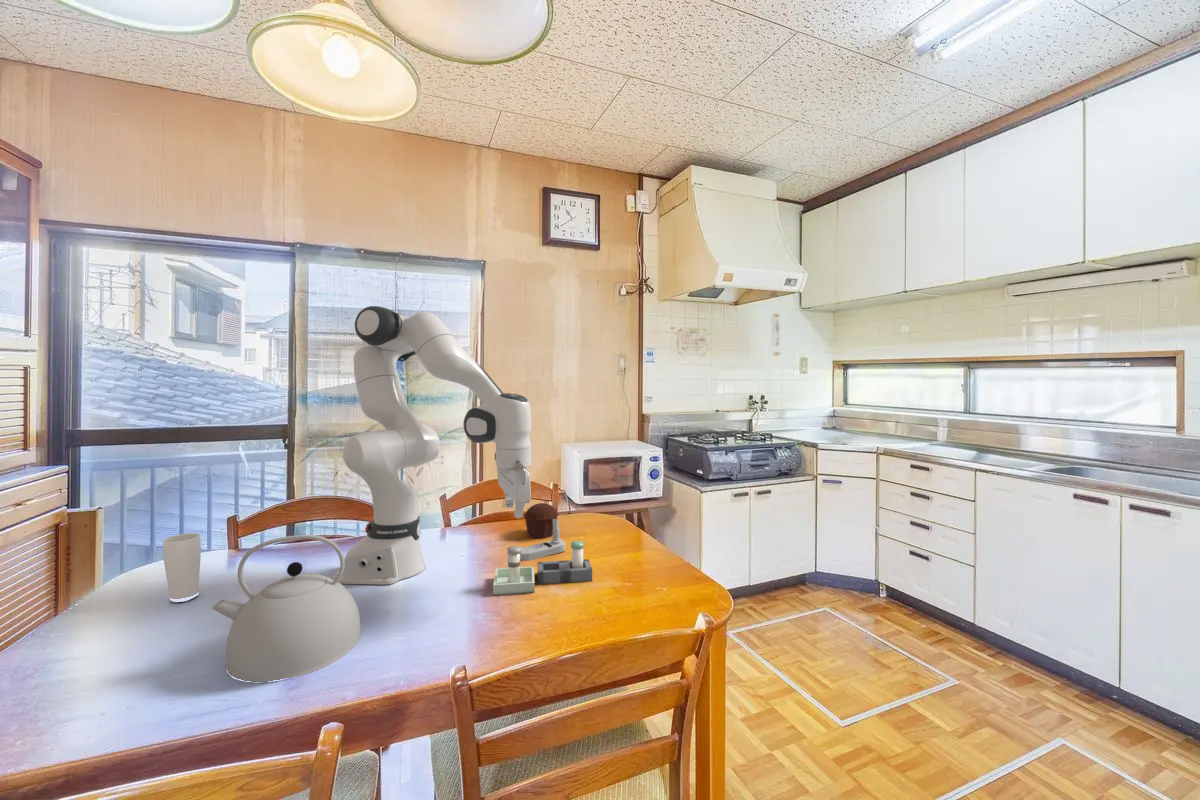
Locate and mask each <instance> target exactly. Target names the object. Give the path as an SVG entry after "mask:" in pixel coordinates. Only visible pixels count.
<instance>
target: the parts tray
mask: <svg viewBox="0 0 1200 800" xmlns="http://www.w3.org/2000/svg"><path fill="white" fill-rule="evenodd" d="M535 583H536V581H535V566H532V565H531V566H520V582H519V583H508V567H502V568H495V572H494V577H493V584H492V591H493V592H492V594H493V596H500V595H501V596H502V595H503V596H504V595H515V594H517V595H518V594H519V595H520V594H530V593H531V594H532V593H535V588H536V587H535Z"/></svg>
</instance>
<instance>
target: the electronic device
mask: <svg viewBox="0 0 1200 800" xmlns="http://www.w3.org/2000/svg"><path fill="white" fill-rule="evenodd" d="M559 521H560V520H559V518H557V519H553V535H552V539H551V540H547V541H544V542H540V543H535V544H532V545H527V546H524V547H521V553H520V561H531V560H532V561H533V560H536V559H540V558H545V557H548V556H552V555H555V554H560V553H563V552H565V551H566V542H565V540H563V539H561V538H560V527H559V526H560V523H559Z"/></svg>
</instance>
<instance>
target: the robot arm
mask: <svg viewBox="0 0 1200 800" xmlns="http://www.w3.org/2000/svg"><path fill="white" fill-rule="evenodd" d="M354 321H355V322H354V331H355V333H356V336H358V338H359V339H361V341H363V342H364V343H366V344H367V345H364V346H362V347H359V349H357V350H356V351H355V353H354V355H353V374H354V381H355V385H356V386H355V387H356V389H357V390H356V391H357V395H358V399H359V403H360V408H361V411H362V413H363V414H364V415H365V416H366V417H367V418H369V419H371V420H373V421H376V422H378V423H379V424H380V425H382V426H383V428H384V429H380V430H368V431H365V432H361V433H359V434H355V435H352V436H349V438H348V439H347V440H346V442H345V444H344V447H343V449H342V458H343V462H344V464H345V466H346V467H347V468H348V469H349V470H350V471H351V472H352V473H355V474H356V475H358V476H359V477H360V478H361V479H362V480H364V482H365V484H367V486H368V488H369V491H370V493H371V498H372V508H373V517H372V518H371V519H369V521H368V523H367V524H366V526H365V528H364V533H366V535H365V536H364V537H363V538H361V539H360V540H359V541H358V542H356V543H355V544H354V545H353V546H351V547H350V548H349V550H347V552H346V555H345V556H344V561H345V567H344V571H343V574H342V576H341V578H340V579H339V581H338V582H339V583H340V584H342V585H343V584H345V585H382V586H383V585H392V584H394V583H397V582H398V581H401V580H404V579H407V578H410V577H413V576H415V575H417V574H419V573H421V572H422V571H423V570H424V569H425V568H426V563H425V561H424V558H423V553H422V549H421V544H420V543H421V542H420V537H421V522H420V516H419V513H418V512H419V511H418V508H419V507H418V491H417V489H416V488H415V487H414V485H413V484H411V483H410V482H407V481H403V480H401V479H400V477H399V471H398V470H400V469H405V468H412V467H418V466H421V465H424V464H427V463H429V462H432V461H433V460H435V459H436V458H437V457H438V456H439V453H440V450H441V439H440V437H439V435H438V434H437V432H436V431H435V430H434V429H432V428H431V427H429V426H427V425H426V424H424V423H423V422H421V420H419V419H418V418H417V417H416V415H415V414H414V413H413V411H412V410H411V409H410V407H409V405H408V403H407V401H406V398H405V395H404V391H403V389H402V384H401V381H400V377H399V373H398V369H397V362H398V361H399V362H406V361H407V360H408V359H409V358H411V357H413V356H417V358H418V360H419V362H420V363H421V364H422V366H423V367H424V368H425V369H426V371H427V372H429V373H430V375H432V376H433V377H435V378H437V379H440V380H443V381H444V380H445V381H449V382H453V383H454V384H455V383H456V384H459V385H461V386H464V387H466V388H467V389H469V390H471V391H472V392H473V393H474V394H475V396H476V397H477V398H478V400H479V401H480V402H481V403H482V405H478V406H475V407H472V408H470V409H469V410H467V412H466V414H465V416H464V418H463V431H464V433H465V436H466V437H467V438H468V439H469V440H470V441H471V442H472V443H476V444H488V443H493V442H494V443H495V452H494V460H495V466H496V468H497V469H496V471H497V473H496V474H497V481H498V485H499V487H500V488H501V489H502V490H503V494H504V499H505V507H506V508H508V509H509V508H510V509H511V508H512V509H513V507H514V509H513V516H514V517H515V518H516V519H522V518H523V517H524V515H523V514H524V507H525V504H530V502H531V499H532V489H531V488H532V487H531V485H532V483H531V476H530V471H528V470H527V467H529V466H532V442H531V436H530V435H531V432H532V411H531V405H530V404H531V403H530V402H529V400H528V398H527V397H525V396H523V395H522V394H521V395H520V394H518V393H510V392H509V393H508V392H507V393H505V392H503V391H502V389H500V388H499V386H498V385H497V384H496V382H495V381H494V379H492V378H491V376H490V375H489V374H488V372H486V370H485V369H484V368H483V367H482V366H481V365H480V364H479V363H478V362H477V361H476V360H475V359H474V358H472V357H471V356H470V355H469V354H468V353H467V351H466V350H465V349H464V348H463V347H462V346H461V344H460V343H459V341H458V340H457V339H456V338H455V336H454V335H453V333H452V332H451V331H450V329H449V327H447V325H445V323H444V322H443V321H442V320H441V319H440V318H439V317H438V316H437V315H436V314H435V313H432V312H430V311H420V312H417V313H415V314H413V315H411V316H410V317H408V316H405V315H404V314H402V313H399V312H396V311H394V310H391V309H389V308H387V307H383V306H378V305H369V306H366V307H364V308H362V309H361V310H360V311H359V313H358V314H357V315H356V318H355V320H354ZM429 373H428V374H429ZM339 570H340V567H339V568H338V569H337V570H336V571H335V573H334V575H333V579H335V578H336V576H337V575H338V573H339Z"/></svg>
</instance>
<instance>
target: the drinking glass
mask: <svg viewBox="0 0 1200 800" xmlns="http://www.w3.org/2000/svg"><path fill="white" fill-rule="evenodd" d="M200 536H201V535H200V534H199V533H196V532H191V533H190V532H189V533H180V534H175V535H172V536H169V537H167V538H164V539H163V540H162V557H163V564H164V569H165V576H166V580H167V586H168V592H169V599H170V598H172V599H181V598H186V597H190V596H193V595H195V594H197V593H198V592H199V593H200V571H201V556H202V554H201V553H202V551H201V550H202V548H201V537H200Z"/></svg>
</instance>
